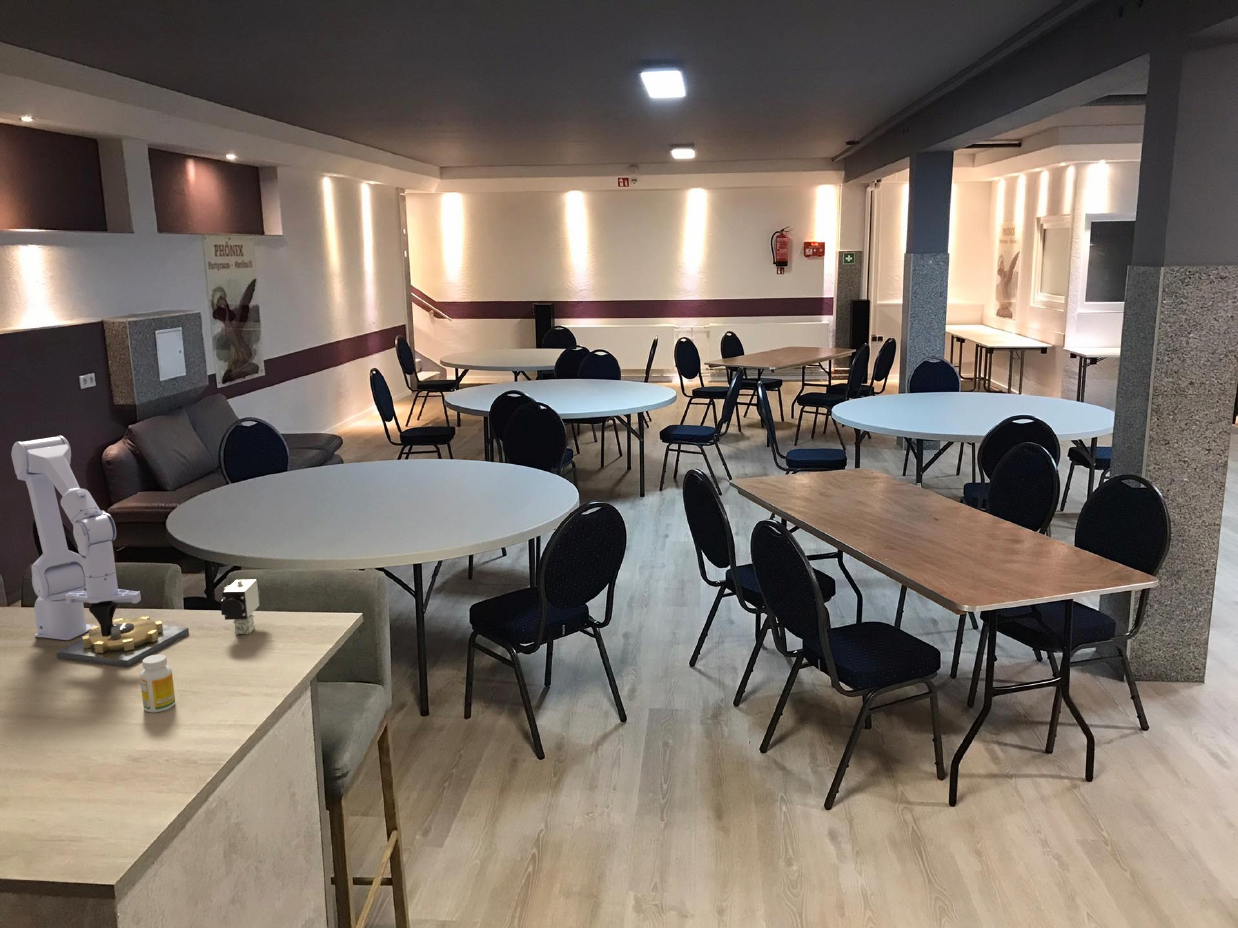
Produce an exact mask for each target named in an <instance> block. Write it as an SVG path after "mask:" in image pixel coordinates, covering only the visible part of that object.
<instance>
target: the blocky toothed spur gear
mask: <svg viewBox="0 0 1238 928" xmlns="http://www.w3.org/2000/svg"><path fill="white" fill-rule="evenodd" d="M112 622H113V624H111V625H109V631H110V636H108V637H103V636H102V633H101V627H100V625H99V626H98V625H96V626H94V627H92V628H90V629H89V631H88V632H89V633H88V635H84V636H81V637H82V639H83V645H84V648H88V647H92V648H93V649H95V652H96V653H104V652H106V651H114V650H122V649H124V651H127V650H132V649H134V647H136V646H139V645H142V644H145V643H147V642H154V641H156V640H158V633H159V632H163V627H162V625H163V622H162V621H161V620H157V621H156V620H152V619H151V617H150V616H141V617H139V618H126V619H123V618H122V617H121V618H117V619H112Z"/></svg>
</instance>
